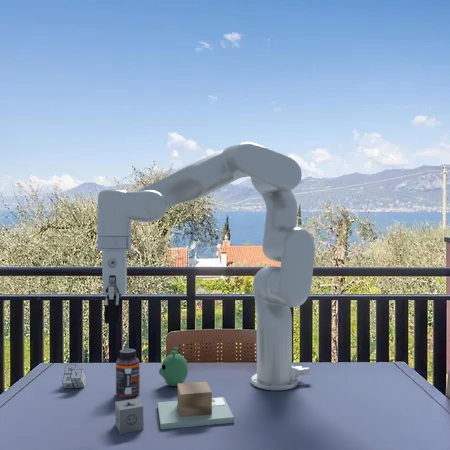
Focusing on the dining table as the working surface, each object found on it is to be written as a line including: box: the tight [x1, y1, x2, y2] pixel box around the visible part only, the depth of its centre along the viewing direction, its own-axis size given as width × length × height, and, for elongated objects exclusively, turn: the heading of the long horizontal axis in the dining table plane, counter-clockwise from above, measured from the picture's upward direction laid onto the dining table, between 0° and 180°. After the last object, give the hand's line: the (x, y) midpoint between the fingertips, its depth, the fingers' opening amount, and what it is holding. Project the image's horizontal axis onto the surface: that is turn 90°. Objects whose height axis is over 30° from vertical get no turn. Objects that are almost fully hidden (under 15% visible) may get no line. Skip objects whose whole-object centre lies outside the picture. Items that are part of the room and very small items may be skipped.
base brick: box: [176, 381, 213, 417], centre depth 109 cm, size 7×7×5 cm
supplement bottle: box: [115, 348, 141, 399], centre depth 121 cm, size 6×6×11 cm
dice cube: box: [114, 398, 144, 435], centre depth 103 cm, size 5×5×5 cm
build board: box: [157, 396, 235, 430], centre depth 109 cm, size 16×12×1 cm
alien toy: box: [158, 346, 189, 387], centre depth 128 cm, size 7×8×10 cm
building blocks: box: [61, 364, 87, 389], centre depth 128 cm, size 5×5×8 cm
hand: (113, 318), depth 109 cm, fingers open, 9 cm apart
